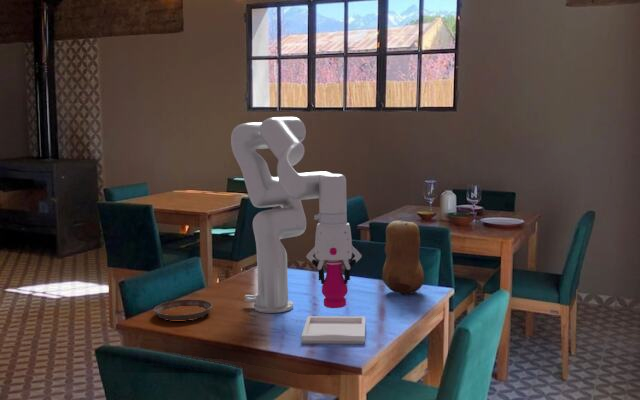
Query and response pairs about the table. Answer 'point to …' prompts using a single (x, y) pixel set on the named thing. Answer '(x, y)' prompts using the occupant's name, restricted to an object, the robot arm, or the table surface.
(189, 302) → the plant saucer
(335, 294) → the pepper mill
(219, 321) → the table surface
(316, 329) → the tray
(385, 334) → the table surface
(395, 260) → the butternut squash
